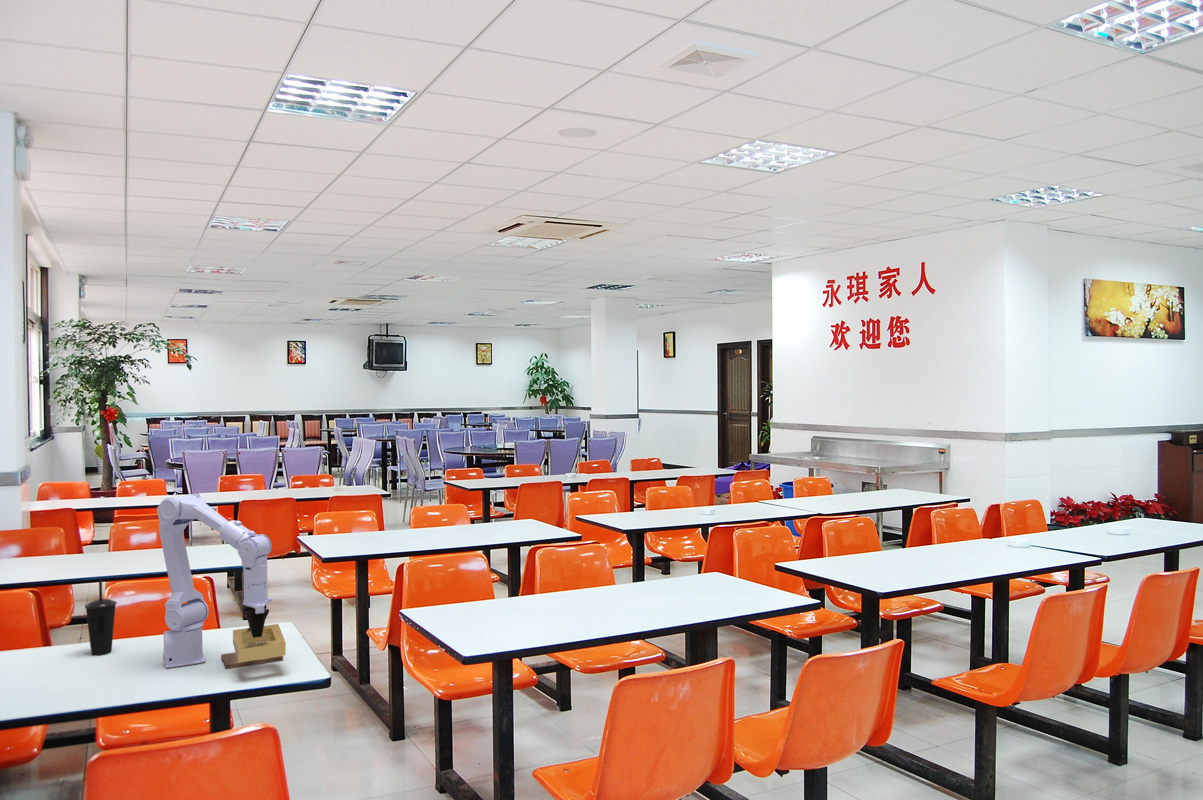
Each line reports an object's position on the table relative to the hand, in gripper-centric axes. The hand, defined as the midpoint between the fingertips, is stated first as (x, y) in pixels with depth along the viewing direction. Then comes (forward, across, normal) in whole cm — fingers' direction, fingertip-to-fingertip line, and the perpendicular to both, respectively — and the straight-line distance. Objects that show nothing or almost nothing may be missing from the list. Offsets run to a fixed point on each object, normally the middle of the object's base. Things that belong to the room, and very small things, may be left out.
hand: (256, 635), depth 224 cm
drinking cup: (+9, +38, +35) cm, 52 cm away
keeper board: (+8, +9, 0) cm, 12 cm away
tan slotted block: (+2, -4, 0) cm, 5 cm away
